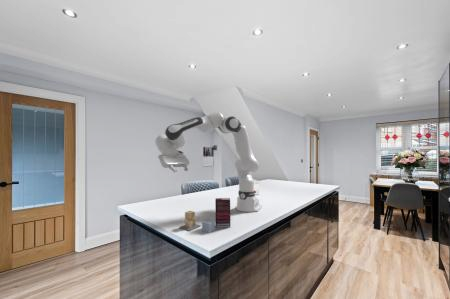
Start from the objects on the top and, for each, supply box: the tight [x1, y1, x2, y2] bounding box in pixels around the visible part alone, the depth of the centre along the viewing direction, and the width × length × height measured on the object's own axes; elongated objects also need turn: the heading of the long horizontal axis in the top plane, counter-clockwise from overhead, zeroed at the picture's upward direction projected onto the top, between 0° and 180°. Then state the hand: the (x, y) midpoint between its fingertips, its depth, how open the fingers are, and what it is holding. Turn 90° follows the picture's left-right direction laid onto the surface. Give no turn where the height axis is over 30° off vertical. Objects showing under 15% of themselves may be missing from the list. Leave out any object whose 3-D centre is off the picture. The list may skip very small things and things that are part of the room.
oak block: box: [184, 210, 196, 228], centre depth 116 cm, size 4×4×8 cm
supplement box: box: [214, 197, 231, 229], centre depth 118 cm, size 9×5×16 cm, turn 92°
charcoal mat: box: [179, 223, 202, 232], centre depth 116 cm, size 9×8×1 cm
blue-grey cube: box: [201, 219, 216, 234], centre depth 111 cm, size 5×5×5 cm
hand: (181, 171), depth 125 cm, fingers open, 8 cm apart
